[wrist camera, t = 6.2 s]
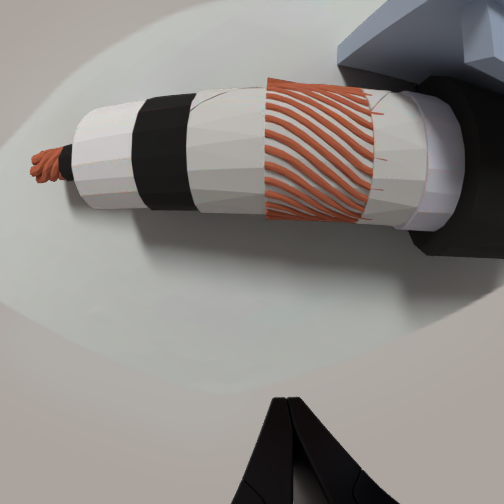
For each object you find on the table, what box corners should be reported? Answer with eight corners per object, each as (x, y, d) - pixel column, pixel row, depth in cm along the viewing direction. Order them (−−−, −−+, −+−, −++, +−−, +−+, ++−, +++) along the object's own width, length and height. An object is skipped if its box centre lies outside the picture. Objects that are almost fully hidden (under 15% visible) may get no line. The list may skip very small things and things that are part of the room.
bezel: (492, 96, 17) (628, 103, 4) (490, 137, 18) (630, 166, 5) (337, 46, 16) (460, -57, 3) (335, 95, 18) (480, 39, 5)
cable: (91, 132, 22) (19, 67, 12) (492, 147, 19) (562, 91, 9) (70, 252, 21) (-31, 228, 11) (507, 266, 18) (601, 249, 8)
